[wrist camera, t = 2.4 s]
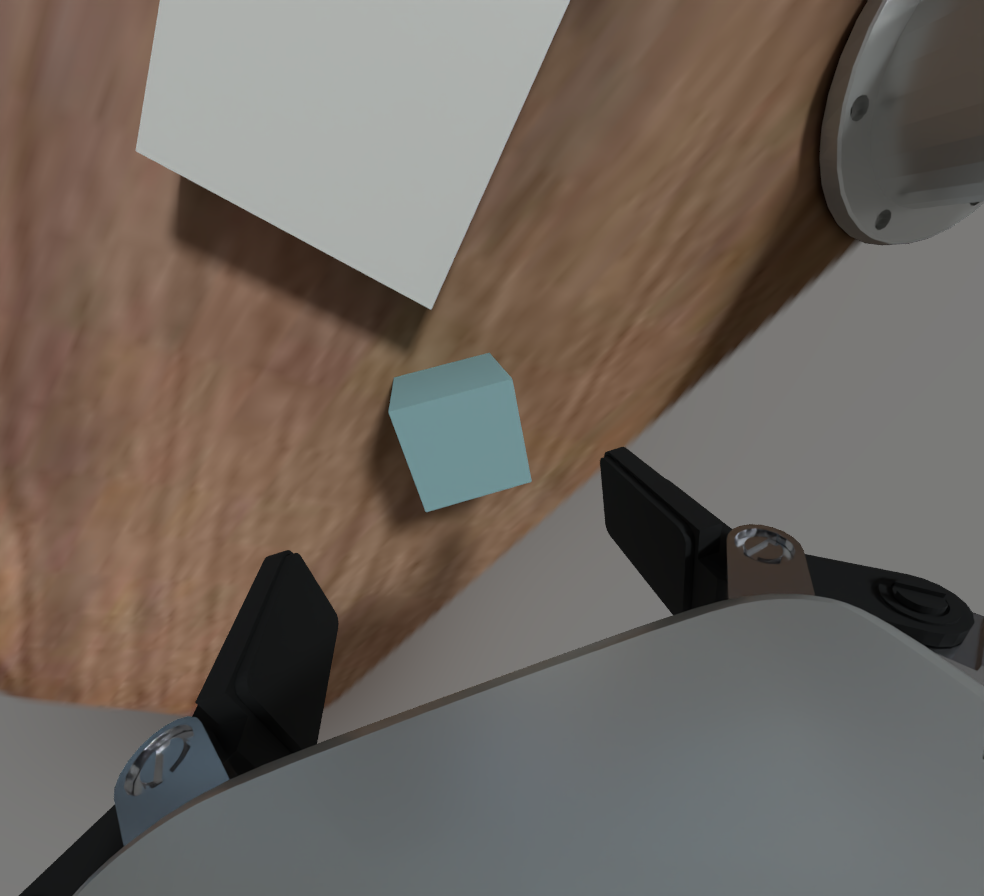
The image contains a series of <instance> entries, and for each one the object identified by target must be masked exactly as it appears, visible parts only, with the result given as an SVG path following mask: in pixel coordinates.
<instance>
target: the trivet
mask: <svg viewBox="0 0 984 896" xmlns="http://www.w3.org/2000/svg"><path fill="white" fill-rule="evenodd" d="M569 2H570V0H160V4H159V10H158V16H157V22H156V29H155V35H154V41H153V47H152V53H151V60H150V66H149V72H148V78H147V84H146V90H145V97H144V103H143V109H142V115H141V121H140V128H139V134H138V140H137V146H136V151H137V152H139V153H140V154H142V155H144V156H146V157H148V158H150V159H152V160H153V161H155V162H157V163H159V164H161V165H163V166H165V167H166V168H168V169H170V170H172V171H174V172H176V173H178V174H179V175H181V176H183V177H185V178H187V179H189V180H191V181H193V182H194V183H196V184H198V185H200V186H202V187H204V188H206V189H207V190H209V191H211V192H213V193H215V194H217V195H219V196H220V197H222V198H224V199H226V200H228V201H230V202H232V203H233V204H235V205H237V206H239V207H241V208H243V209H245V210H246V211H248V212H250V213H252V214H254V215H256V216H258V217H259V218H261V219H263V220H265V221H267V222H269V223H271V224H272V225H274V226H276V227H278V228H280V229H282V230H284V231H285V232H287V233H289V234H291V235H293V236H295V237H297V238H299V239H300V240H302V241H304V242H306V243H308V244H310V245H312V246H313V247H315V248H317V249H319V250H321V251H323V252H325V253H326V254H328V255H330V256H332V257H334V258H336V259H338V260H339V261H341V262H343V263H345V264H347V265H349V266H351V267H352V268H354V269H356V270H358V271H360V272H362V273H364V274H365V275H367V276H369V277H371V278H373V279H375V280H377V281H378V282H380V283H382V284H384V285H386V286H388V287H390V288H392V289H393V290H395V291H397V292H399V293H401V294H403V295H405V296H406V297H408V298H410V299H412V300H414V301H416V302H418V303H419V304H421V305H423V306H425V307H427V308H429V309H432V307H433V305H434V302H435V300H436V298H437V296H438V294H439V291H440V289H441V287H442V285H443V282H444V280H445V278H446V276H447V273H448V271H449V269H450V267H451V265H452V262H453V260H454V258H455V256H456V253H457V251H458V249H459V247H460V245H461V242H462V240H463V238H464V236H465V233H466V231H467V229H468V227H469V224H470V222H471V220H472V218H473V216H474V213H475V211H476V209H477V207H478V204H479V202H480V200H481V198H482V195H483V193H484V191H485V189H486V187H487V184H488V182H489V180H490V178H491V175H492V173H493V171H494V169H495V166H496V164H497V162H498V160H499V158H500V155H501V153H502V151H503V149H504V146H505V144H506V142H507V140H508V138H509V135H510V133H511V131H512V129H513V126H514V124H515V122H516V120H517V117H518V115H519V113H520V111H521V109H522V106H523V104H524V102H525V100H526V97H527V95H528V93H529V91H530V88H531V86H532V84H533V82H534V80H535V77H536V75H537V73H538V71H539V68H540V66H541V64H542V62H543V59H544V57H545V55H546V53H547V51H548V48H549V46H550V44H551V42H552V39H553V37H554V35H555V33H556V31H557V28H558V26H559V24H560V22H561V19H562V17H563V15H564V13H565V10H566V8H567V6H568V4H569Z"/></svg>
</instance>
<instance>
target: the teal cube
mask: <svg viewBox="0 0 984 896" xmlns="http://www.w3.org/2000/svg"><path fill="white" fill-rule="evenodd" d="M388 412H389V415H390V418H391V420H392V423H393V426H394V428H395V431H396V434H397V437H398V439H399V442H400V445H401V447H402V450H403V453H404V455H405V458H406V461H407V463H408V466H409V469H410V471H411V474H412V477H413V479H414V482H415V485H416V487H417V490H418V493H419V495H420V498H421V501H422V503H423V506H424V509H425V511H426V512H429V511H432V510H436V509H439V508H443V507H446V506H450V505H453V504H457V503H460V502H463V501H467V500H470V499H474V498H477V497H481V496H484V495H487V494H491V493H494V492H498V491H501V490H505V489H508V488H512V487H515V486H518V485H522V484H525V483H529V482H532V481H531V476H530V471H529V465H528V460H527V455H526V449H525V444H524V439H523V434H522V428H521V423H520V418H519V412H518V407H517V402H516V396H515V391H514V386H513V381H512V378H511V377H510V376H509V375H508V374H507V372H506V371H505V370H504V369H503V368H502V367H501V366H500V364H499V363H498V362H497V361H496V360H495V359H494V358H493V356H492V355H491V354H490V353H487V354H483V355H479V356H475V357H471V358H468V359H464V360H460V361H456V362H452V363H448V364H445V365H441V366H437V367H433V368H429V369H425V370H422V371H418V372H414V373H410V374H406V375H402V376H398V377H395V378H394V381H393V387H392V393H391V399H390V405H389V411H388Z"/></svg>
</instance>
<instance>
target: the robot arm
mask: <svg viewBox="0 0 984 896" xmlns="http://www.w3.org/2000/svg"><path fill="white" fill-rule="evenodd" d="M819 160H820V172H821V184H822V188H823V192H824V195H825V199H826V202H827V206H828V208H829V210H830V212H831V214H832V215H833V217H834V219H835V221H836V222H837V224H838V225H839V226H840V227H841V228H842V229H843V230H844V231H845V232H846V233H847V234H848V235H849V236H851V237H853V238H855V239H857V240H859V241H862V242H864V243H868V244H877V245H892V244H909V243H913V242H917V241H920V240H924V239H928V238H930V237H932V236H934V235H937V234H939V233H941V232H943V231H945V230H947V229H949V228H951V227H952V226H953V225H955V224H956V223H958V222H960V221H961V220H963V219H964V218H966V217H967V216H969V215H970V214H971V213H973V212H974V211H975V210H976V209H977V208H978V207H980V206H981V205H982V204H983V203H984V0H868V1H867V3H866V5H865V6H864V8H863V10H862V12H861V13H860V15H859V17H858V19H857V21H856V23H855V25H854V27H853V30H852V32H851V34H850V36H849V39H848V41H847V43H846V45H845V48H844V50H843V52H842V54H841V57H840V60H839V63H838V66H837V69H836V72H835V75H834V78H833V81H832V84H831V87H830V90H829V94H828V98H827V103H826V108H825V113H824V118H823V123H822V128H821V142H820V156H819ZM600 467H601V479H602V490H603V502H604V512H605V524H606V528H607V531H608V533H609V534H610V536H611V537H612V539H613V540H614V541H615V542H616V544H617V545H618V546H619V547H620V549H621V550H622V551H623V553H624V554H625V555H626V556H627V558H628V559H629V560H630V561H631V562H632V564H633V565H634V566H635V568H636V569H637V570H638V571H639V573H640V574H641V575H642V577H643V578H644V579H645V580H646V581H647V583H648V584H649V585H650V587H651V588H652V589H653V590H654V592H655V593H656V594H657V595H658V597H659V598H660V599H661V600H662V602H663V603H664V604H665V605H666V607H667V608H668V609H669V610H670V612H671V613H672V614H673V616H670V617H667V618H664V619H661V620H658V621H656V622H652V623H650V624H647V625H643V626H640V627H637V628H635V629H632V630H629V631H626V632H624V633H621V634H618V635H615V636H612V637H609V638H606V639H604V640H601V641H599V642H595V643H592V644H590V645H587V646H584V647H582V648H578V649H576V650H573V651H570V652H567V653H564V654H562V655H559V656H556V657H553V658H550V659H548V660H545V661H542V662H539V663H537V664H534V665H531V666H528V667H526V668H523V669H520V670H517V671H514V672H512V673H509V674H506V675H503V676H501V677H498V678H495V679H492V680H490V681H487V682H484V683H481V684H479V685H476V686H473V687H470V688H468V689H465V690H462V691H459V692H457V693H454V694H451V695H448V696H446V697H443V698H440V699H437V700H435V701H432V702H429V703H426V704H424V705H421V706H418V707H416V708H413V709H410V710H407V711H405V712H402V713H399V714H397V715H394V716H391V717H388V718H386V719H383V720H380V721H378V722H375V723H372V724H370V725H367V726H364V727H361V728H359V729H356V730H354V731H350V732H348V733H345V734H343V735H340V736H337V737H334V738H332V739H329V740H326V741H324V742H321V743H319V744H317V740H318V735H319V729H320V724H321V718H322V713H323V708H324V702H325V697H326V691H327V686H328V680H329V675H330V669H331V664H332V658H333V653H334V647H335V642H336V636H337V631H338V617H337V614H336V612H335V610H334V609H333V607H332V606H331V604H330V602H329V601H328V599H327V598H326V596H325V594H324V593H323V591H322V589H321V588H320V586H319V585H318V583H317V581H316V580H315V578H314V577H313V575H312V573H311V572H310V570H309V568H308V567H307V565H306V564H305V562H304V560H303V559H302V557H301V556H300V554H298V553H294V554H293V553H292V552H291V551H290V550H287V551H283V552H280V553H277V554H274V555H270V556H268V557H266V558H265V560H264V561H263V563H262V566H261V568H260V570H259V572H258V574H257V576H256V578H255V580H254V582H253V584H252V586H251V588H250V590H249V592H248V595H247V597H246V599H245V601H244V603H243V605H242V607H241V609H240V611H239V613H238V615H237V617H236V619H235V621H234V624H233V626H232V628H231V630H230V632H229V634H228V636H227V638H226V640H225V642H224V644H223V646H222V648H221V650H220V653H219V655H218V657H217V659H216V661H215V663H214V665H213V667H212V669H211V671H210V673H209V675H208V677H207V679H206V682H205V684H204V686H203V688H202V690H201V692H200V694H199V696H198V698H197V700H196V702H195V703H196V704H198V706H197V708H196V710H195V712H194V714H193V716H192V717H190V716H187V717H184V718H180V719H177V720H175V721H173V722H171V723H169V724H167V725H165V726H164V727H163V728H161V729H160V730H159V731H158V732H156V733H155V734H153V735H152V736H151V737H150V738H149V739H148V740H147V741H146V742H144V743H143V744H142V745H141V746H140V747H139V748H138V750H137V751H136V752H135V754H134V755H133V756H132V757H131V758H130V759H129V761H128V763H127V764H126V765H125V767H124V769H123V770H122V772H121V773H120V775H119V778H118V780H117V783H116V786H115V789H114V802H115V805H114V806H113V807H112V808H111V809H110V810H109V811H107V813H106V814H105V815H103V816H102V817H101V818H100V819H99V820H98V821H97V822H96V823H95V824H94V825H93V826H92V827H91V828H90V829H89V830H87V831H86V832H85V833H84V834H83V835H82V836H81V837H80V838H79V839H78V840H77V841H76V842H75V843H74V844H73V845H72V846H71V847H70V848H68V849H67V850H66V851H65V852H64V853H63V854H62V855H61V856H60V857H59V858H58V859H57V860H56V861H55V862H54V863H53V864H52V865H51V866H50V867H48V868H47V869H46V870H45V871H44V872H43V873H42V874H41V875H40V876H39V877H38V878H37V879H36V880H35V881H34V882H33V883H32V884H31V885H29V887H28V888H26V889H25V890H24V891H23V892H22V893H21V894H20V895H19V896H984V616H981V615H979V614H976V613H973V612H972V611H971V610H970V609H969V607H968V606H967V604H966V603H965V602H963V601H962V600H961V599H960V598H959V597H957V596H956V595H955V594H954V593H952V592H950V591H948V590H947V589H945V588H943V587H942V586H940V585H937V584H935V583H933V582H930V581H928V580H925V579H923V578H919V577H916V576H912V575H908V574H903V573H898V572H893V571H888V570H883V569H878V568H873V567H868V566H862V565H857V564H852V563H847V562H842V561H837V560H832V559H827V558H822V557H817V556H812V555H807V554H805V553H804V550H803V548H802V547H801V545H800V543H799V542H798V541H796V540H795V539H794V538H793V537H792V536H790V535H788V534H786V533H785V532H783V531H781V530H778V529H776V528H773V527H769V526H764V525H753V524H749V525H743V526H739V527H736V528H734V529H731V528H730V527H728V526H727V525H726V524H725V523H723V522H722V521H721V520H720V519H718V518H717V517H716V516H714V515H713V514H712V513H710V512H709V511H708V510H707V509H705V508H704V507H703V506H701V505H700V504H699V503H698V502H696V501H695V500H694V499H692V498H691V497H690V496H688V495H687V494H686V493H685V492H683V491H682V490H681V489H680V488H678V487H677V486H675V485H674V484H673V483H672V482H670V481H669V480H667V479H665V478H664V477H662V476H661V475H660V474H659V473H657V472H656V471H655V470H653V469H652V468H651V467H649V466H648V465H647V464H646V463H644V462H643V461H642V460H641V459H639V458H638V457H637V456H636V455H634V454H633V453H632V452H630V451H629V450H628V449H627V448H625V447H620V448H617V449H614V450H611V451H607V452H606V453H605V455H604V458H601V460H600Z"/></svg>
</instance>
